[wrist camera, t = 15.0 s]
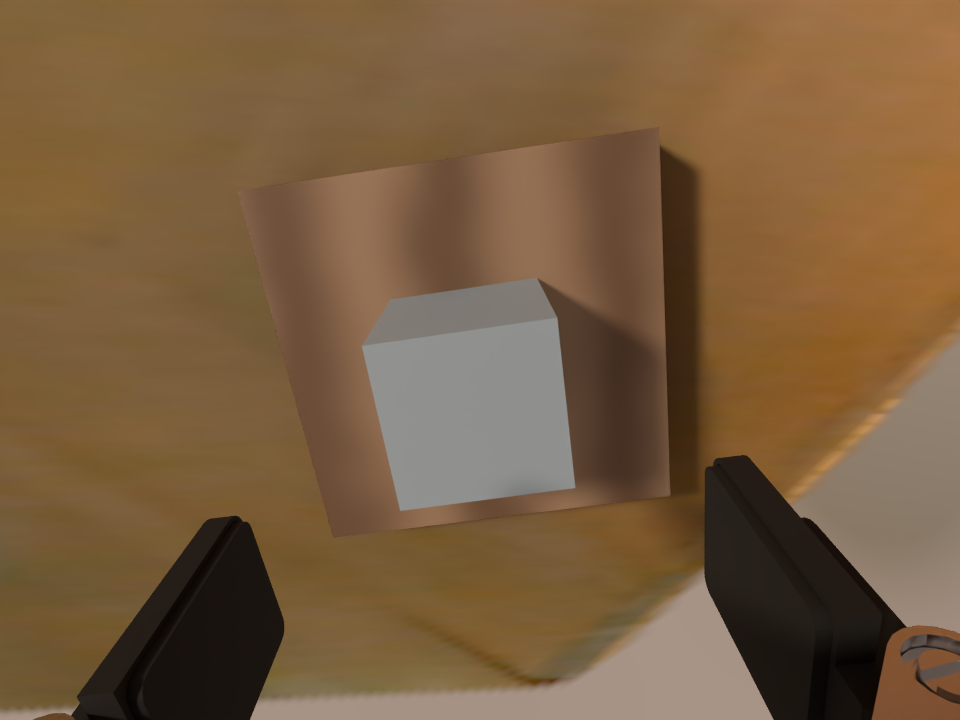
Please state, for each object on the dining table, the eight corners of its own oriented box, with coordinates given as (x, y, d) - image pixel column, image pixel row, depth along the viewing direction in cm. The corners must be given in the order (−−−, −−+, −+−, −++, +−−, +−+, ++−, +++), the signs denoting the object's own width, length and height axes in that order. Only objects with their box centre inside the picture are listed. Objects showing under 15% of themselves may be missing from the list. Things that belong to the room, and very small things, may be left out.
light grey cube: (536, 277, 22) (557, 317, 17) (552, 412, 24) (575, 488, 19) (390, 299, 23) (361, 345, 17) (417, 430, 25) (400, 510, 19)
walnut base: (636, 130, 23) (659, 127, 21) (651, 463, 29) (670, 496, 26) (265, 187, 24) (237, 190, 21) (347, 501, 29) (333, 537, 27)
